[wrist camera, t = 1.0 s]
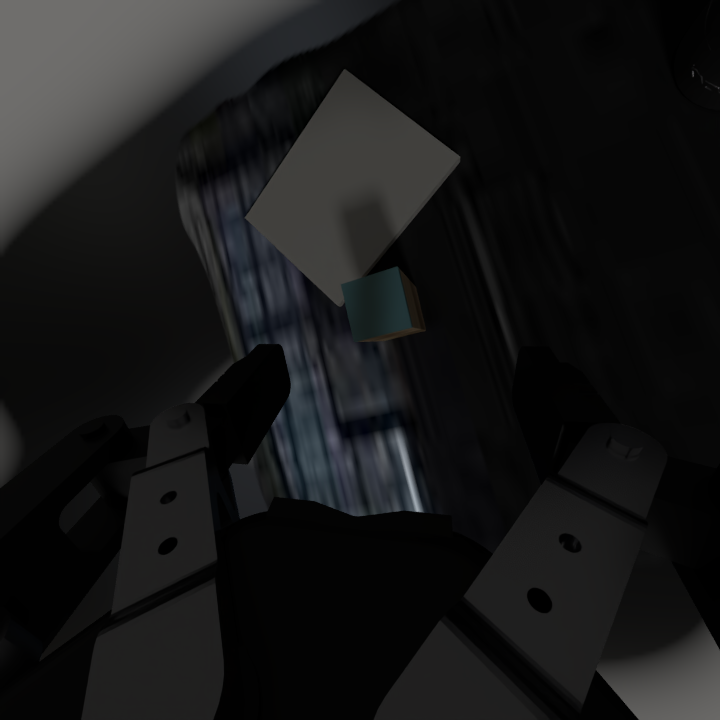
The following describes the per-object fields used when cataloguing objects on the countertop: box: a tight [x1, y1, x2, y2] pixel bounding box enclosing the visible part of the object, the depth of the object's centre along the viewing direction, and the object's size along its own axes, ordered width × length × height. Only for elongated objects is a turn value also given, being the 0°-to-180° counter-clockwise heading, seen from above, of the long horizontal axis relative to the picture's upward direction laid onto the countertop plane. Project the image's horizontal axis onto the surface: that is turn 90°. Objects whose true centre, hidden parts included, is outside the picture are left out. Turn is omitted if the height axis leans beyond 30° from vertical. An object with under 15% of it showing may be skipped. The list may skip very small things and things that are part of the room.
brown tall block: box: [341, 266, 426, 342], centre depth 32 cm, size 5×5×11 cm
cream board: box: [245, 69, 460, 307], centre depth 38 cm, size 20×17×1 cm
